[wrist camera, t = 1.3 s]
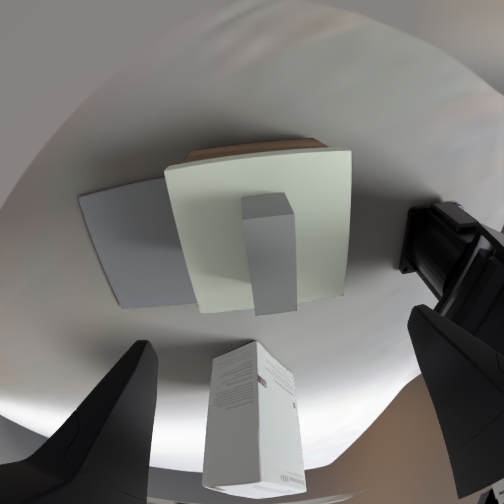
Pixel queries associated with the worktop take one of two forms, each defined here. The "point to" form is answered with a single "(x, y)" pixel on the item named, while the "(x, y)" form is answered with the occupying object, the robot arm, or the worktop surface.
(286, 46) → the worktop surface
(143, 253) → the mat
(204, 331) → the worktop surface
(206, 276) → the lid
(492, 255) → the robot arm
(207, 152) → the box
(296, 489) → the skincare box
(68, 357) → the worktop surface
